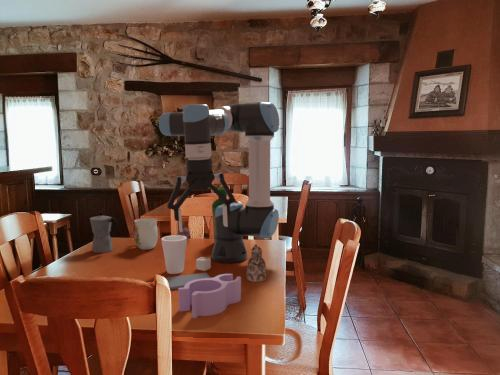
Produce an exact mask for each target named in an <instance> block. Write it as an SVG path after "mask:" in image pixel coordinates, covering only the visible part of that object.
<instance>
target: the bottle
mask: <svg viewBox="0 0 500 375" xmlns="http://www.w3.org/2000/svg"><path fill="white" fill-rule="evenodd" d="M217 190H218V191H219V192H220V193H221V194H222V195H223V196H224V197H225V198H226V199H227V200H228V199H229V198H227V197H228V195H227V193H226V192H225V190H224V188H223V187H222V185H219V188H217ZM217 197H218V198H217V199H215V200H213V202H212V204H211V210H212V211H211V212H212V214H211V215H212V225H213V226H212V227H213V228H212V229H213V240H214V243H215V241H216V233H215V210H216V208H217V207H218V206H220V205H222V204H225V203H224V202H223V201H222V200H221V198H220V197H219V196H218V195H217Z"/></svg>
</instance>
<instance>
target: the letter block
mask: <svg viewBox="0 0 500 375" xmlns="http://www.w3.org/2000/svg"><path fill="white" fill-rule="evenodd" d="M211 259H212V257H204V256H201V257H199V258H197V259H196V261H195V267H196V270H197V271H198V270H199V271H203V272H205V271H206V272H207V270H210V269H211V268H212V265H211V264H212V262H211V261H212V260H211Z"/></svg>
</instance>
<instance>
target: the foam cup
mask: <svg viewBox="0 0 500 375" xmlns="http://www.w3.org/2000/svg"><path fill="white" fill-rule="evenodd" d="M187 239H188V238H186V237H185V236H181V235H178V234H176V235H174V234H173V235H166V236H163V237H161V246H162V251H163V258H164V263H165V269H166V273H167V274H170V275H176V274H177V275H178V274H181V273H183V272H184V269H185V262H186V260H185V259H186V249H187V244H188V240H187Z"/></svg>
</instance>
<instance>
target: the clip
mask: <svg viewBox="0 0 500 375" xmlns="http://www.w3.org/2000/svg"><path fill="white" fill-rule="evenodd" d="M233 275H234V274H233V273H222V274H218V275H216V276H214V277H211V278H204V279H196V280H193V281H190V282H188V283H186V284H185V286H184V287H183V288H178V289H177V293H178V311H179V312H187V311H191V318H192V319H197V318H199V317H208V316H216V315H218V314H220V313H222V312H224V311H225V310H226V309H227V306H229V305H231V304H232V305H233V304H236V303H239V302H240V301H241V300H242V277H241V276H236V278H235V279H234V277H233Z"/></svg>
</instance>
